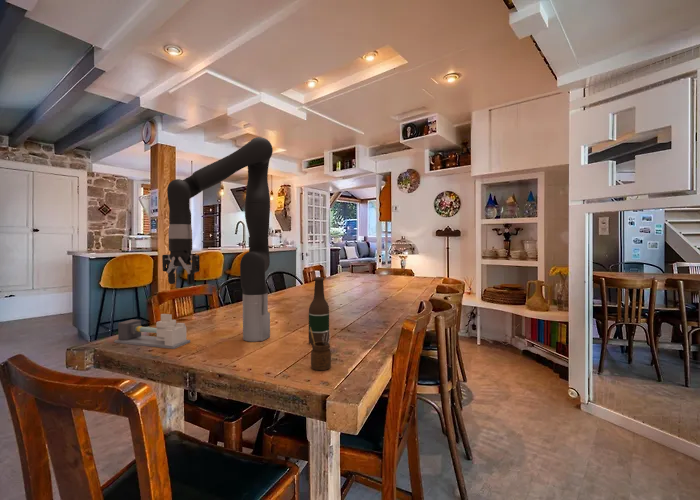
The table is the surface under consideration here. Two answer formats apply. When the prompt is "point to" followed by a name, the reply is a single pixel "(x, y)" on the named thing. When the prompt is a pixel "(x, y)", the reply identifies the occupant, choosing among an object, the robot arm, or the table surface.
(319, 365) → the utensil holder
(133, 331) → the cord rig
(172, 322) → the cream stepped block
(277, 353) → the table surface
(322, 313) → the beer bottle
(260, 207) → the robot arm
